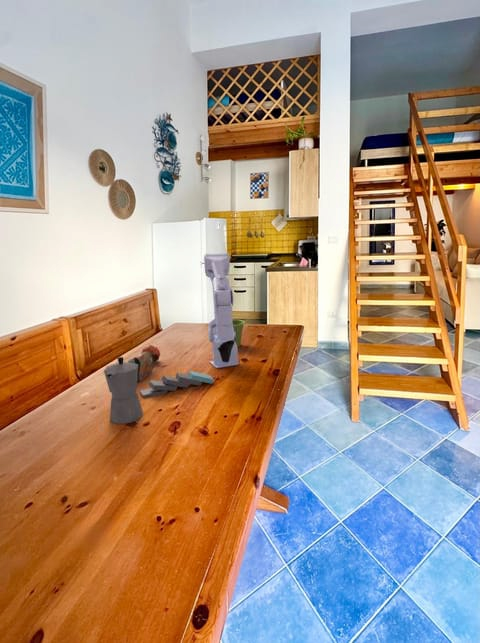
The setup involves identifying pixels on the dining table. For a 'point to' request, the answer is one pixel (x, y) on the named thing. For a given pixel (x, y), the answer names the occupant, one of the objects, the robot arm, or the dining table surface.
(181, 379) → the domino
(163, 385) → the domino
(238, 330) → the plant pot
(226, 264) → the robot arm
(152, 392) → the domino
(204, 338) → the dining table surface
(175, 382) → the domino
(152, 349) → the pomegranate
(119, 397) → the coffeepot
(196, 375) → the teal domino
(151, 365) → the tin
